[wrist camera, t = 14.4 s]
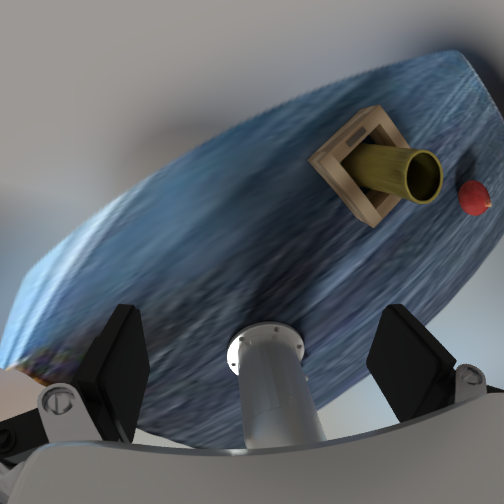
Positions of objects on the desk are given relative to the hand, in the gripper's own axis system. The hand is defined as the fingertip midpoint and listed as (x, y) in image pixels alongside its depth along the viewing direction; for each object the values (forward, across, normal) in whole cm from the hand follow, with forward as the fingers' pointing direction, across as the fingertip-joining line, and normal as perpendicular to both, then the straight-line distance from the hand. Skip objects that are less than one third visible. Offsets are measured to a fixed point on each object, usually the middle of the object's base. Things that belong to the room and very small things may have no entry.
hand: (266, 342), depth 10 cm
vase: (+28, -16, -7) cm, 33 cm away
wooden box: (+27, -16, -7) cm, 33 cm away
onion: (+28, -38, -5) cm, 47 cm away
